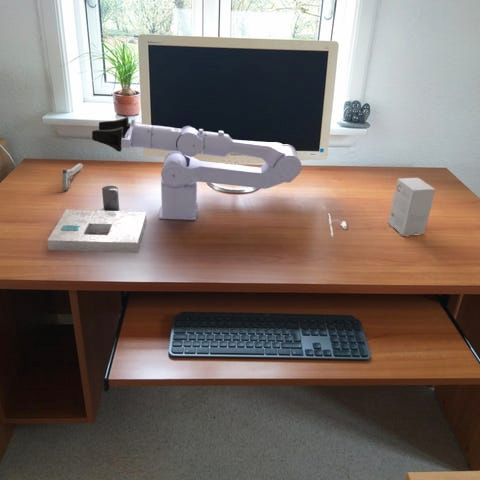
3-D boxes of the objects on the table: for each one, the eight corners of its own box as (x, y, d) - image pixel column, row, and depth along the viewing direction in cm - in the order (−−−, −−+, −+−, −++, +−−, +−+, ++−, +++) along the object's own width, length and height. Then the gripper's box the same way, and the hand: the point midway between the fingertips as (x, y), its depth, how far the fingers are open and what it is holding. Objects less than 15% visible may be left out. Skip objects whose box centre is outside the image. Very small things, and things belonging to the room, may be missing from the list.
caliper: (67, 192, 142) (65, 171, 139) (63, 192, 142) (61, 171, 139) (83, 166, 160) (81, 147, 157) (79, 166, 160) (77, 147, 157)
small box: (424, 235, 130) (436, 189, 124) (402, 237, 129) (413, 190, 122) (407, 221, 137) (418, 177, 131) (387, 223, 136) (397, 178, 129)
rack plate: (146, 220, 129) (146, 211, 128) (137, 252, 115) (137, 242, 114) (67, 218, 128) (66, 209, 126) (48, 249, 114) (47, 239, 112)
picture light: (327, 214, 139) (328, 207, 138) (342, 216, 139) (344, 209, 138) (330, 238, 127) (332, 231, 126) (347, 240, 127) (349, 233, 126)
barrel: (120, 206, 135) (119, 186, 132) (117, 213, 132) (116, 192, 129) (105, 206, 135) (103, 185, 132) (102, 212, 132) (100, 191, 129)
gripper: (156, 113, 128) (102, 107, 127) (149, 129, 115) (89, 122, 114) (154, 140, 131) (102, 134, 130) (148, 158, 118) (89, 152, 117)
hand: (95, 130), depth 122 cm, fingers open, 7 cm apart
